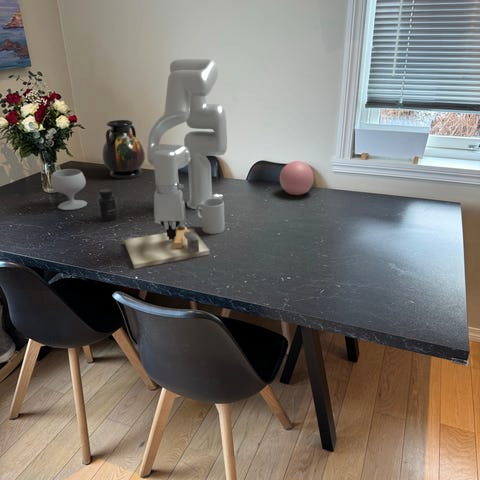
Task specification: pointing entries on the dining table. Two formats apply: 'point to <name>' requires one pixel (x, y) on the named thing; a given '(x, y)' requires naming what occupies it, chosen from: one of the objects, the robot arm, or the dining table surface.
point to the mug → (211, 215)
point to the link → (179, 237)
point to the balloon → (296, 178)
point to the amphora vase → (123, 150)
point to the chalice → (69, 187)
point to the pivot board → (164, 248)
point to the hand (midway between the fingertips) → (171, 238)
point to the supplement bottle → (107, 205)
